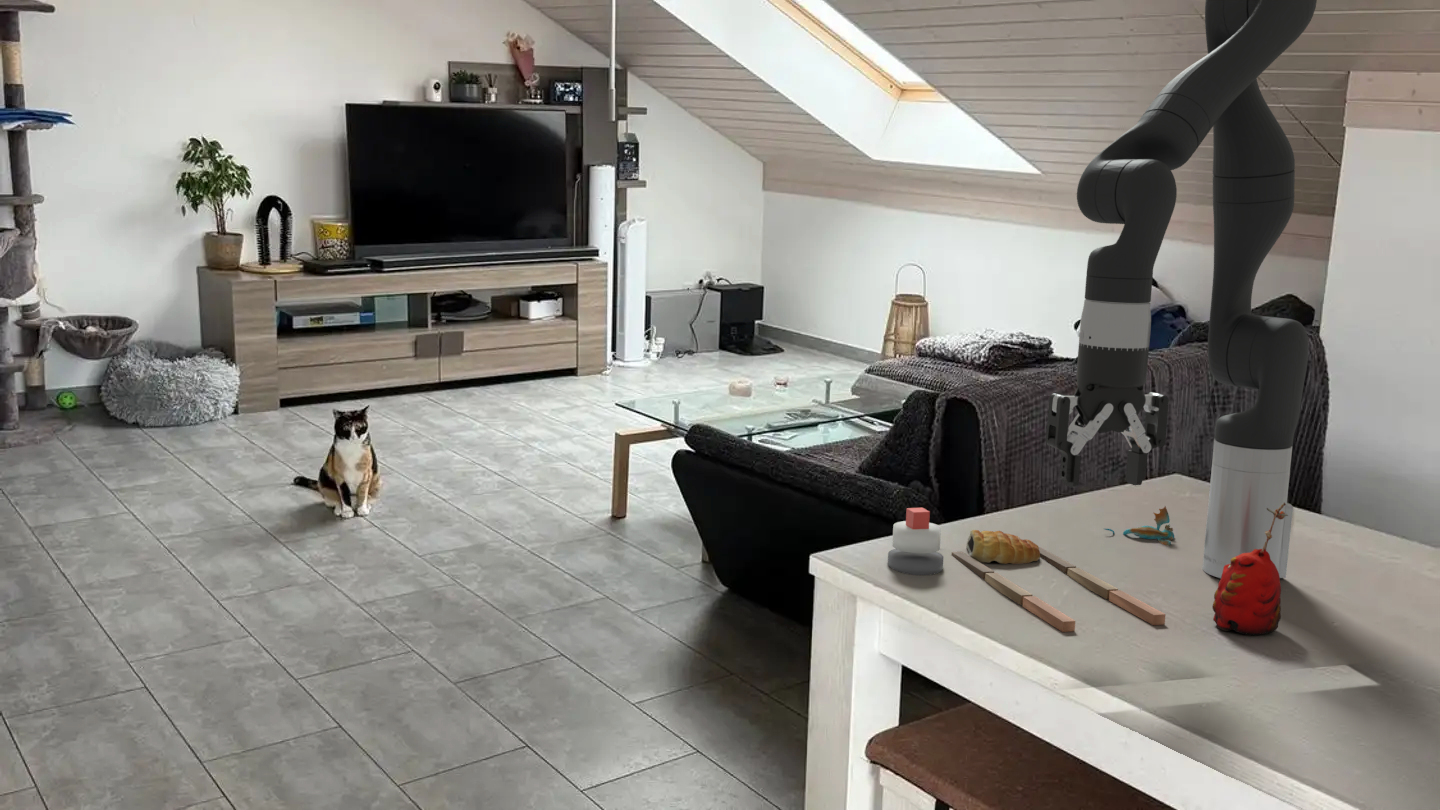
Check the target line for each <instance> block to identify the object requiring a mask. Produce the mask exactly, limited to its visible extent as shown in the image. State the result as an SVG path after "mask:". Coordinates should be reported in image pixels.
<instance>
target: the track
mask: <svg viewBox="0 0 1440 810" xmlns="http://www.w3.org/2000/svg"><path fill="white" fill-rule="evenodd" d="M1038 547H1039V546H1038ZM1039 551H1040V558H1042V559H1043V560H1044V561H1046V562H1048V563H1049V564H1051V565H1052V566H1053V567H1055V568H1057V569H1058V570H1059V571H1061V572H1062V573H1064V574H1066V575H1067V576H1068V577H1070V578H1071V579H1073V580H1074V581H1076V582H1077V583H1078V584H1081V586H1083V587H1084V588H1086V589H1088V590H1089V591H1091V592H1092V593H1095V594H1096V595H1098V596H1100V597H1101V598H1104V600H1108V601H1109V603H1110V602H1111V603H1113V604H1114V605H1116V606H1118V607H1120V608H1121V609H1123V610H1125V611H1126V612H1129V613H1130V614H1132V615H1134V616H1136V617H1138V618H1139V619H1141V620H1143V621H1145V622H1147V623H1149V624H1150V625H1152V626H1160V625H1161V626H1163V625H1165V623H1166V615H1167V614H1166V613H1164V612H1162V611H1160V610H1158V609H1157V608H1154V607H1153V606H1150V605H1149V604H1147V603H1145V602H1144V601H1141V600H1140V599H1138V598H1136V597H1134V596H1132V595H1131V594H1129V593H1127V592H1125V591H1123V590H1121V589H1120V590H1119V588H1117V587H1115V586H1114V585H1112V584H1110V583H1108V582H1106V581H1104V580H1102V579H1100V578H1098V577H1097V576H1095V575H1094V574H1091V573H1089V572H1087V571H1086V570H1083V568H1080V567H1077V566H1076V565H1074V564H1072V563H1071V562H1069V561H1067V560H1065V559H1063V558H1061V557H1059V556H1057V555H1056V554H1054V553H1052V552H1050V551H1048V550H1046V549H1045V548H1042V547H1039ZM951 556H952V557H954V558H955V559H956V560H957V561H959V562H960V563H962V565H964V566H966V567H967V568H968V567H969V568H970V570H971V571H972V570H973V571H974V572H973V571H972V572H973V573H975V574H976V575H977V574H978V575H977V576H978V577H980V578H981V579H982V578H983V579H982V580H984V581H985V582H986V583H987V584H989V585H991V587H993V588H994V589H996V590H997V591H998V592H999V593H1000V594H1003V595H1004V596H1005V597H1006V598H1008V599H1010V600H1012V601H1014V602H1015V603H1016V604H1018V605H1019V606H1022V607H1023V608H1024V609H1025V610H1027V611H1029V612H1030V613H1032V614H1033V615H1035V616H1036V617H1038V618H1039V619H1041V620H1043V621H1044V622H1045V623H1048V624H1049V625H1051V627H1054V628H1055V629H1057V630H1059V631H1060V632H1062V633H1069V632H1070V633H1071V632H1075V631H1076V620H1075V619H1074V618H1071V617H1070V616H1068V615H1067V614H1065V613H1063V612H1062V611H1060V610H1059V609H1057V608H1055V607H1053V606H1052V605H1050V604H1049V603H1047V602H1046V601H1043V600H1042V599H1040V598H1039V597H1037V596H1035V595H1033V593H1030V592H1029V591H1027V590H1026V589H1024V588H1022V587H1021V586H1019V585H1017V584H1016V583H1014V582H1013V581H1011V580H1010V579H1008V578H1007V577H1004V576H1003V575H1001V574H999V573H998V572H995V571H994V570H993V569H991V568H990V567H988V566H986V565H985V564H984V563H983V562H979V561H977V560H975V559H973V558H972V557H970V555H969V554H967V553H965V552H963V551H952V552H951ZM969 568H968V569H969Z"/></svg>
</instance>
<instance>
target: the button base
mask: <svg viewBox="0 0 1440 810" xmlns="http://www.w3.org/2000/svg"><path fill="white" fill-rule="evenodd" d="M887 565H888V567H889V568H890V569H892V570H893V571H896V572H899V573H902V574H907V575H913V576H914V575H915V576H931V575H930V574H932V575H935V574H939V573H941V572H942V571H943V570H942V569H944V555H943V554H942V553H940V552H938V551H936V552H932V553H910V552H904V551H900V550H898V549H895V548H893V549H891V550H889V551H888V553H887ZM940 571H941V572H940ZM938 572H939V573H938ZM934 573H935V574H934Z"/></svg>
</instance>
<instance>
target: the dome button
mask: <svg viewBox="0 0 1440 810" xmlns="http://www.w3.org/2000/svg"><path fill="white" fill-rule="evenodd" d="M930 515H931V511H930V510H927V509H926V508H924V507H908V508H907V507H906V513H905V520H903V521H897V522H895V523H894V524H893V526H892V527H893V528H892V542H891V543H892V546H891V547H893V549H898V550H900V551H904V552H910V553H932V552H938V551H940V549H941V538H942V537H941V536H942V527H941V526H940V525H938V524H936V523H933V522H930V518H931V517H930Z"/></svg>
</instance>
